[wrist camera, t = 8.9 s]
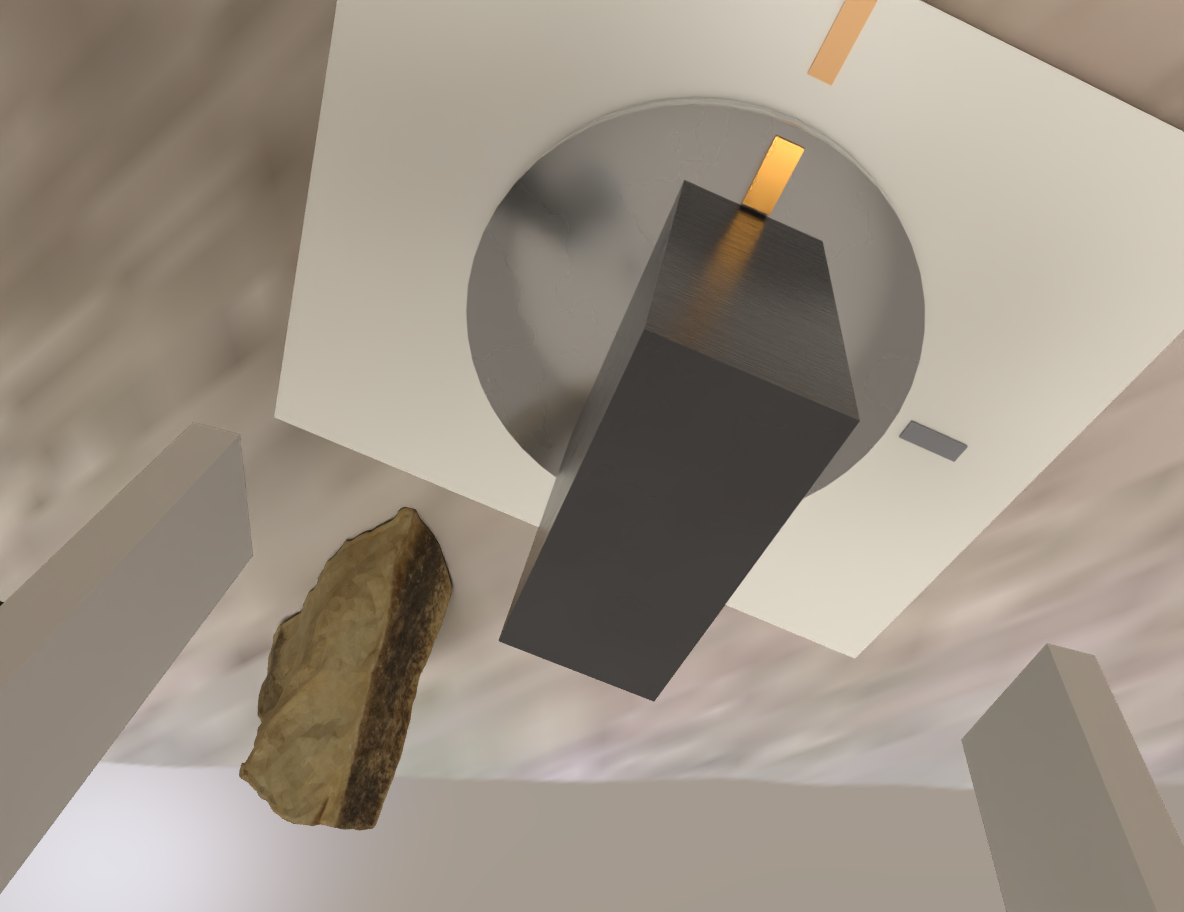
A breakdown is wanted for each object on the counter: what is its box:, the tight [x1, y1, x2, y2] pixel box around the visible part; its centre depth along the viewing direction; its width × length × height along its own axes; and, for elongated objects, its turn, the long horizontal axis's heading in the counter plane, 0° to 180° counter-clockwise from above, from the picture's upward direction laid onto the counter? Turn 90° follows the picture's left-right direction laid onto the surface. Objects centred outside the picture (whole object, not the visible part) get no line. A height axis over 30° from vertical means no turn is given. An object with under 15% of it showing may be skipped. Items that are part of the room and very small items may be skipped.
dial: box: [466, 96, 925, 701], centre depth 17 cm, size 12×12×9 cm
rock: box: [239, 508, 452, 830], centre depth 30 cm, size 11×9×10 cm
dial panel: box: [274, 0, 1184, 659], centre depth 22 cm, size 22×18×2 cm
